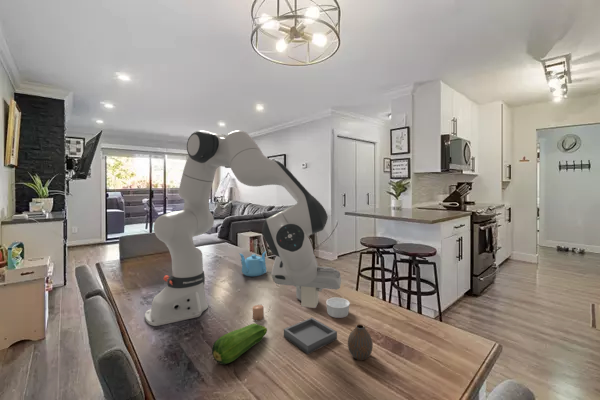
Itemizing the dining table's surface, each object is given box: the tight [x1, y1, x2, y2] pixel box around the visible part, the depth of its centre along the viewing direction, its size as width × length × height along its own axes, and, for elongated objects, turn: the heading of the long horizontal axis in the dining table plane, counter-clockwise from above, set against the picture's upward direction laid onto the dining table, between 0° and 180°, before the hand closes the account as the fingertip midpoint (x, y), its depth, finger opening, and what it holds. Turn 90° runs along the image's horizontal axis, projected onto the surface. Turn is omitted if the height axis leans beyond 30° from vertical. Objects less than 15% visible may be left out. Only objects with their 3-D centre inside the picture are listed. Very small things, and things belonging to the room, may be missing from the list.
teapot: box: [238, 250, 267, 278], centre depth 152 cm, size 15×15×10 cm
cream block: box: [300, 286, 319, 309], centre depth 89 cm, size 4×4×9 cm
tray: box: [283, 317, 338, 355], centre depth 90 cm, size 12×12×2 cm
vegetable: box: [211, 323, 268, 365], centre depth 84 cm, size 7×7×20 cm
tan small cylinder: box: [252, 304, 265, 322], centre depth 104 cm, size 4×4×4 cm
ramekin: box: [325, 297, 351, 319], centre depth 107 cm, size 9×9×4 cm
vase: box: [347, 324, 374, 361], centre depth 81 cm, size 7×7×9 cm
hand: (310, 288), depth 90 cm, fingers closed on cream block, 4 cm apart
